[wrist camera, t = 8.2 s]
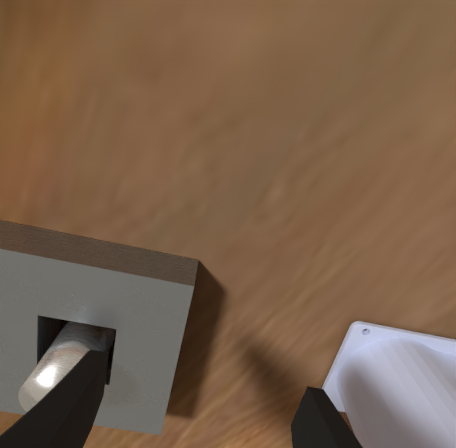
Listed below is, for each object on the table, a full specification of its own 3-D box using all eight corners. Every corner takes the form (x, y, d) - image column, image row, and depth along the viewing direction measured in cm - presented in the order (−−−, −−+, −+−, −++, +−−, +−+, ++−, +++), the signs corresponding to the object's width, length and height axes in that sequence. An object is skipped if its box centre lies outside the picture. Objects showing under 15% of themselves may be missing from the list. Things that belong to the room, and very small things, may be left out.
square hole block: (198, 260, 20) (194, 286, 17) (168, 396, 24) (160, 435, 21) (-145, 190, 18) (-212, 207, 15) (-113, 351, 22) (-160, 386, 20)
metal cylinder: (120, 307, 21) (82, 382, 16) (118, 344, 22) (82, 426, 17) (71, 300, 21) (16, 374, 15) (72, 338, 22) (20, 419, 17)
